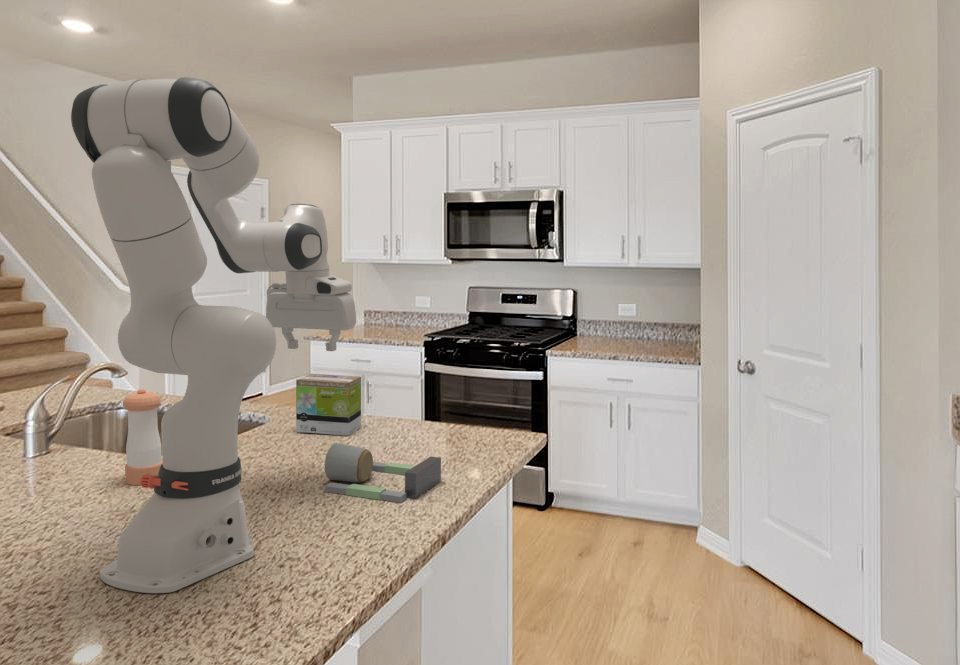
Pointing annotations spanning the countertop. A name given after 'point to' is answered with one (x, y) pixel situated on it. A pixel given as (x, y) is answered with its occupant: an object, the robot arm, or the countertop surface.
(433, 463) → the dark grey rectangular block
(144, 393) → the pepper shaker
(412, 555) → the countertop surface
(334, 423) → the tea box
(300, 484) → the countertop surface
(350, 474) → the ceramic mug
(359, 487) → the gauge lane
